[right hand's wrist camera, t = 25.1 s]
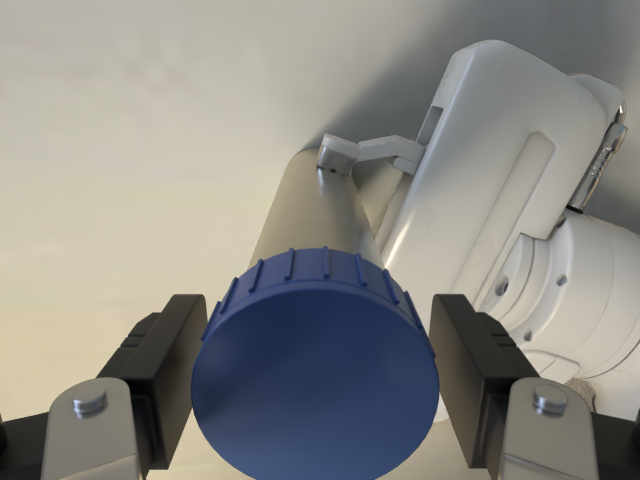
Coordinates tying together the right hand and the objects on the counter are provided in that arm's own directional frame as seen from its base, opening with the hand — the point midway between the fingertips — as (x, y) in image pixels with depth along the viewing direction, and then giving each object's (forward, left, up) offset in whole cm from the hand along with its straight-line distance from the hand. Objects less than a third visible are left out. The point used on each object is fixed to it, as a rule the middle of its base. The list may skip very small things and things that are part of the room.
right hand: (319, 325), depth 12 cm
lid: (0, 0, +3) cm, 3 cm away
